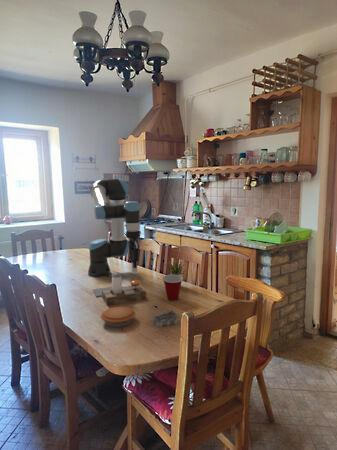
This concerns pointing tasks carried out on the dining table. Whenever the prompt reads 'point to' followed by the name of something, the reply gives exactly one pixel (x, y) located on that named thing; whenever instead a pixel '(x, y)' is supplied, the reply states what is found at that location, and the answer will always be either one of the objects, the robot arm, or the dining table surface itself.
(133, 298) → the housing
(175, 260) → the house plant
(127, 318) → the pie
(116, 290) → the cartridge
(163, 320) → the egg carton
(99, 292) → the mat
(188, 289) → the dining table surface
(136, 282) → the release button
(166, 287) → the plastic cup
